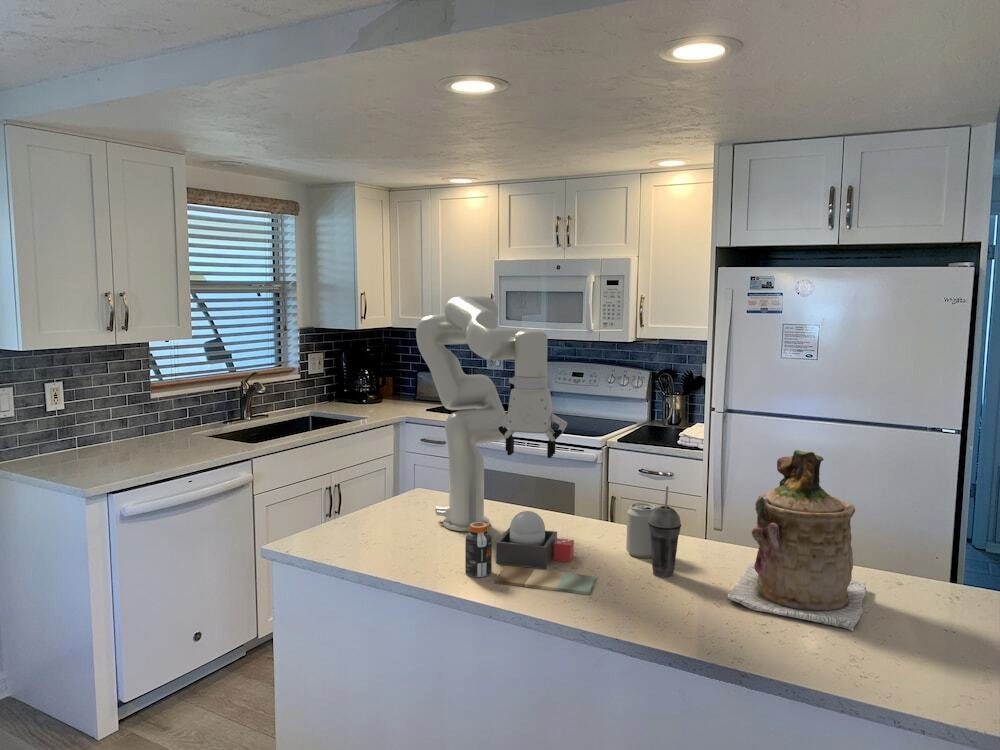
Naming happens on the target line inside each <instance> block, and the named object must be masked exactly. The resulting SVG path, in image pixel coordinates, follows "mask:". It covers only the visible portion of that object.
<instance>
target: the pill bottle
mask: <svg viewBox="0 0 1000 750" xmlns="http://www.w3.org/2000/svg"><path fill="white" fill-rule="evenodd" d="M488 527H489V526H488V525H487V524H486V523H482V522H475V523H471V524H470V531H468V533H466V535H465V542H464V543H465V546H464V547H465V557H464V558H465V564H464V565H465V566H464V567H465V568H464V569H465V570H464V571H465V574H466V575H467V576H469V577H473V578H474V577H475V578H483V577H487V576H489V575H491V573H492V571H493V570H492V569H493V567H492V565H493V564H492V563H493V562H492V551H493V550H492V549H493V547H492V544H493V541H492V540H493V536H492V534H491V533H490V532H488V530H489V529H488Z"/></svg>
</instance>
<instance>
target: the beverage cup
mask: <svg viewBox="0 0 1000 750" xmlns="http://www.w3.org/2000/svg"><path fill="white" fill-rule="evenodd" d="M668 498H669V486H667V485H666V487H665V496H664V499H665V500H664V505H662V506H658V507H656V509H655V510H654V511H653V512H652V513H651V516H650V518H649V522H648V524H649V531H650V536H651V553H652V557H651V566H652V567H651V568H652V574H653V576H655V577H658V578H663V579H664V578H668V579H669V578H671V577H674V571H675V566H676V558H677V550H678V543H679V542H678V541H679V536H680V532H681V528H682V522H681V517H680V515H679V514H678V512H677V511H676V510H675V509H674V508H672V507H670V506H668V500H669V499H668Z"/></svg>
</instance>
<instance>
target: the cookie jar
mask: <svg viewBox="0 0 1000 750" xmlns="http://www.w3.org/2000/svg"><path fill="white" fill-rule="evenodd" d="M824 460H825V459H824V458H823V456H821V455H818V454H816V453H815V452H814V451H810V450H809V451H807V452H805V451H802V450H799V449H796V450H794V451H793V455H792V456H782V457H779V458H778V459H777V461H776V471H777V472H778V473H780V474H781V475H782V476H783V478H781V479H780V481H779V486H777V487H774V488H773V489H772V490H770V491H768V492H767V493H763V494H759V495H758V498H757V499H756V502H755V508H754V509H755V512H756V514H757V516H756V527H754V528H752V529H751V531H750V532H751V533H750V534H751V536H752V538H753V540H754V541H756V543H757V544H758V550H757V553H756V557H755V562H754V563H749V564H748V565H747V567H746V568H745V571H744V573H743V574H741V575H740V576H739V578H738V580H737V581H736V584H735V585H734V586H733V587H732V590H731V591H730V592H728V594H727V600H728V601H733V602H736V603H738V604H741V605H742V606H744V607H746V608H748V609H749V610H752V611H756V612H761V613H762V612H764V613H770V614H775V615H780V616H784V617H790V618H794V619H800V620H806V621H811V622H813V623H819V624H824V625H829V626H834V627H839V628H843V629H846V630H849V631H851V632H854V631H855V628H854V627H856V625H857V624H858V623H859V620H860V619H861V618H862V617H861V615H862V614H863V610H864V609H863V601H864V598H865V596H866V592H867V591H868V590H867V584H866V583H865V582H862V581H858V580H852V579H853V577H852V573H853V572H852V571H853V568H854V559H853V558H854V557H853V548H852V545H851V544H852V530H851V529H852V527H851V519H852V518H853V516H854V514H855V513H856V507H855V506H854V505H853V504H852V503H851V502H848V501H847V500H845V499H842V498H840V497H839V498H838V497H835V496H832V495H831V494H828V492H826V491H825V489H823V488H822V487H821V485H820V482H821V481H820V469H821V468H820V467H821V463H822V462H823V461H824Z"/></svg>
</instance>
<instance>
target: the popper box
mask: <svg viewBox="0 0 1000 750" xmlns="http://www.w3.org/2000/svg"><path fill="white" fill-rule="evenodd" d="M574 541H575V540H574V539H568V538H567V539H566V538H558V531H556V530H555V531H553V530H546V529H545V545H544V546H537V545H527V544H518V543H510V527H509V528H507V530H506V531H505V532H504V533H503V534H502V535H501V537H499V538H498V539H497V541H496V542H495V563H496V564H502V565H508V566H510V565H511V566H516V567H525V568H527V567H529V568H534V569H535V568H536V569H542V570H546V569H547V568H548V566H549V564H550V563H551V562H552V560H553V561H559V562H567V563H571V562H572V560H573V558H574V548H575V543H574Z"/></svg>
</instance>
